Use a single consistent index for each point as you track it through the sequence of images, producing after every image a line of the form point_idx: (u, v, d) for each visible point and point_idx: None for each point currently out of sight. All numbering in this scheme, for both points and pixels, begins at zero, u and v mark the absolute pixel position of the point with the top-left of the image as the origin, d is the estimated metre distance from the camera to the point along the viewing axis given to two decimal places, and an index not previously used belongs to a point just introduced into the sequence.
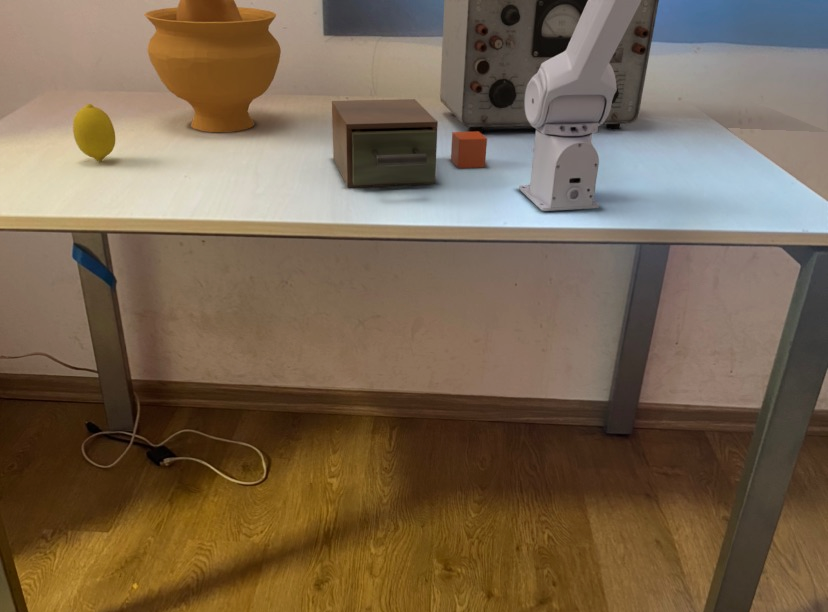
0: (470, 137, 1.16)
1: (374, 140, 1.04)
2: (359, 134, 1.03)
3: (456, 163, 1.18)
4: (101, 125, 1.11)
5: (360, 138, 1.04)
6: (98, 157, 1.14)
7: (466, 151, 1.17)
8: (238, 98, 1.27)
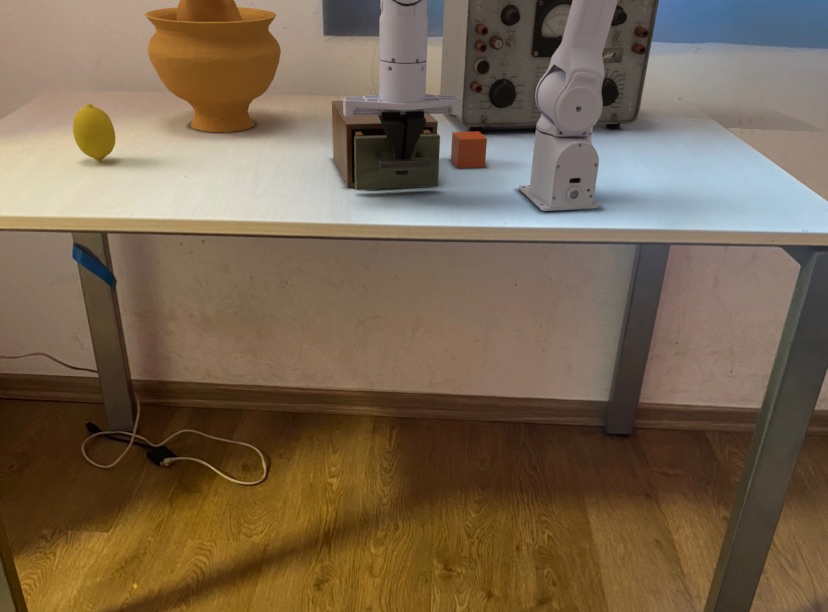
0: (470, 137, 1.16)
1: (377, 145, 1.02)
2: (362, 138, 1.02)
3: (456, 163, 1.18)
4: (101, 125, 1.11)
5: (363, 142, 1.02)
6: (98, 157, 1.14)
7: (466, 151, 1.17)
8: (238, 98, 1.27)
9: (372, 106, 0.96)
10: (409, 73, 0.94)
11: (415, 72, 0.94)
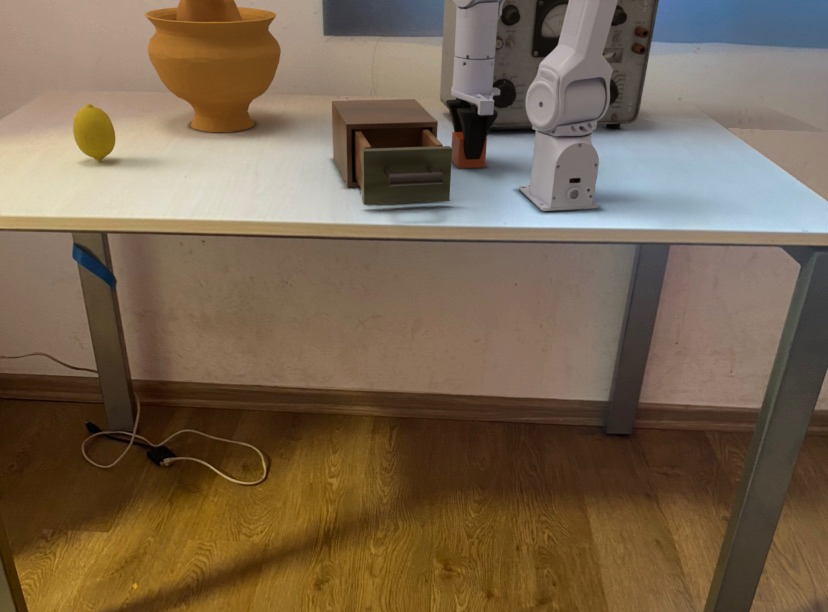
0: None
1: (386, 158, 0.98)
2: (370, 151, 0.97)
3: (456, 163, 1.18)
4: (101, 125, 1.11)
5: (371, 155, 0.97)
6: (98, 157, 1.14)
7: None
8: (238, 98, 1.27)
9: None
10: (455, 64, 1.11)
11: (457, 65, 1.11)
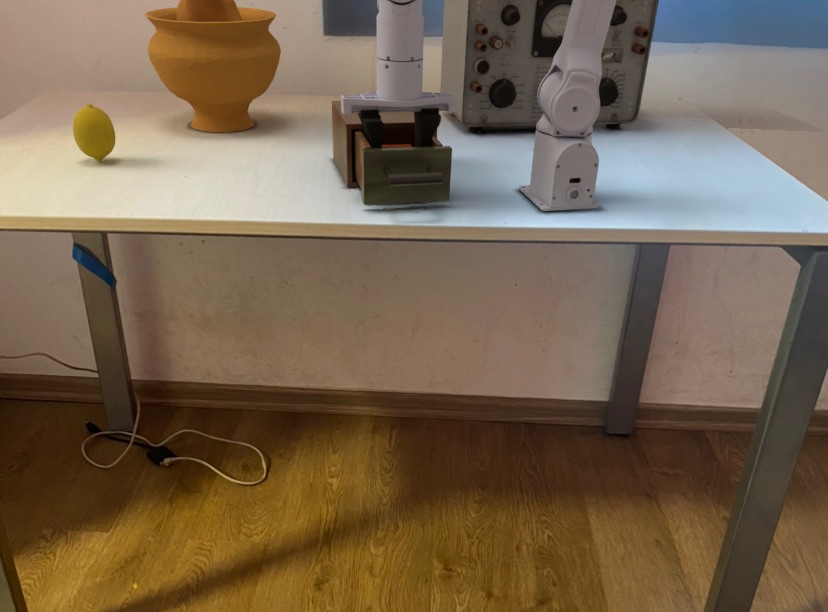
0: None
1: (386, 158, 0.98)
2: (370, 151, 0.97)
3: None
4: (101, 125, 1.11)
5: (371, 155, 0.97)
6: (98, 157, 1.14)
7: None
8: (238, 98, 1.27)
9: (369, 104, 0.98)
10: (406, 71, 0.95)
11: (411, 70, 0.96)
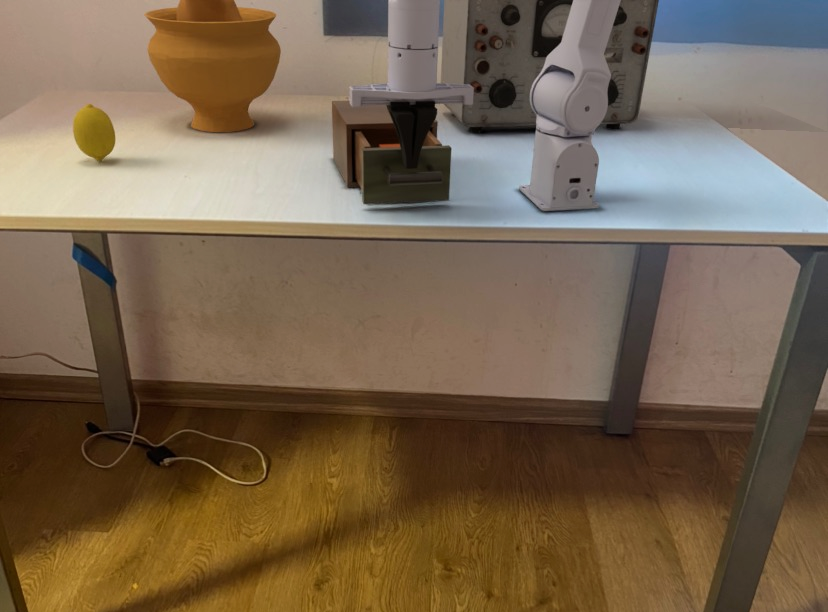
0: None
1: (385, 157, 0.98)
2: (370, 150, 0.97)
3: None
4: (101, 125, 1.11)
5: (371, 155, 0.97)
6: (98, 157, 1.14)
7: None
8: (238, 98, 1.27)
9: (380, 95, 0.91)
10: (420, 60, 0.88)
11: (425, 59, 0.89)
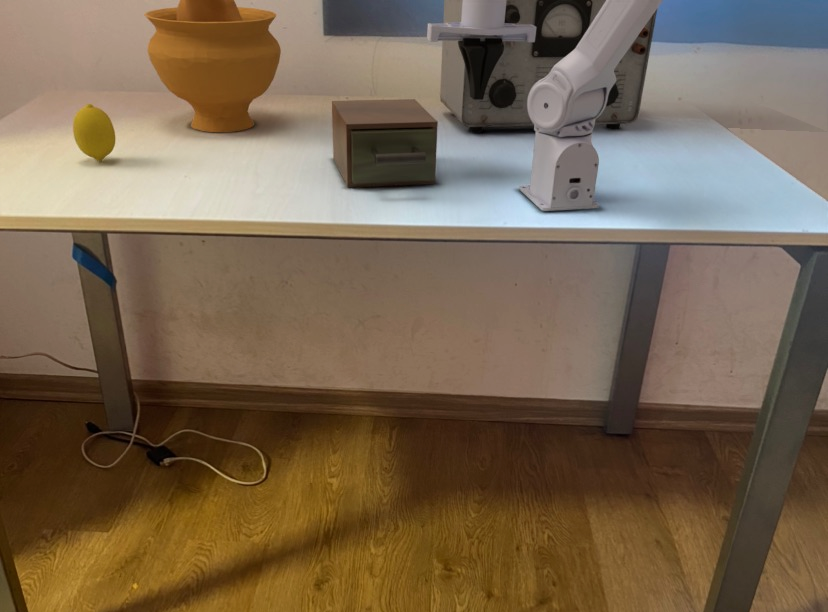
0: None
1: (373, 139, 1.05)
2: (359, 133, 1.04)
3: None
4: (101, 125, 1.11)
5: (359, 137, 1.04)
6: (98, 157, 1.14)
7: None
8: (238, 98, 1.27)
9: (456, 31, 1.03)
10: None
11: None
